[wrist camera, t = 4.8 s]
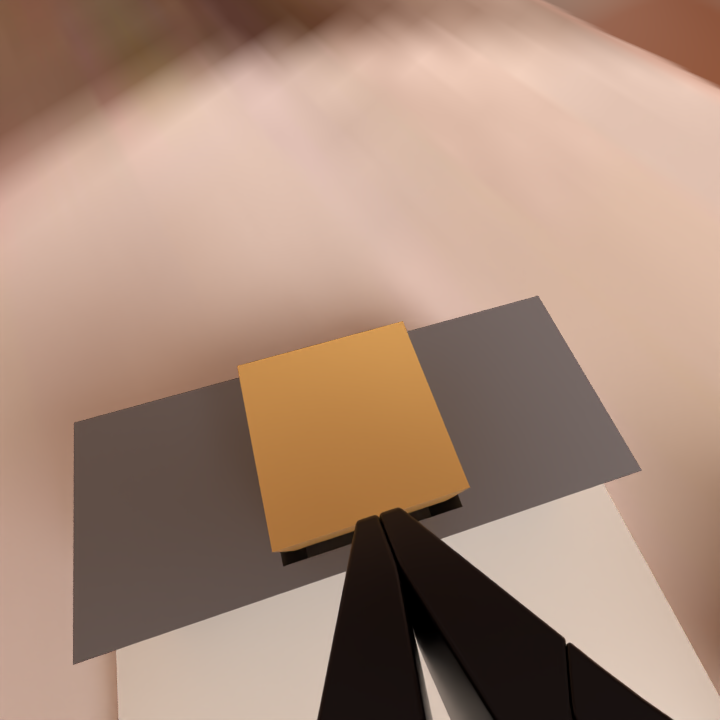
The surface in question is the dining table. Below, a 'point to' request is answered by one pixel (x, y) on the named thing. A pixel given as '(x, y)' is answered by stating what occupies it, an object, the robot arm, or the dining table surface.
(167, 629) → the grey block on base
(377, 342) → the amber key
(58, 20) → the dining table surface
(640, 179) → the dining table surface
